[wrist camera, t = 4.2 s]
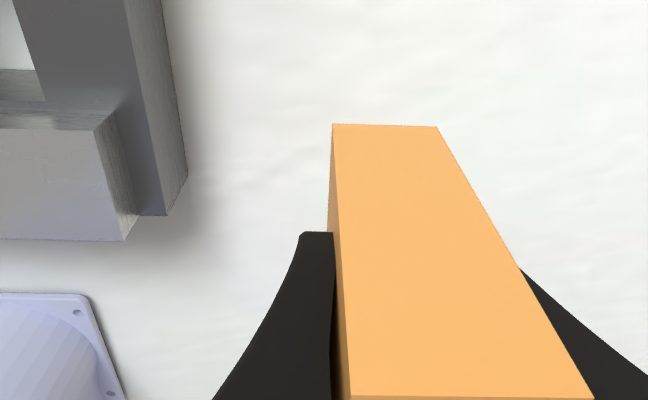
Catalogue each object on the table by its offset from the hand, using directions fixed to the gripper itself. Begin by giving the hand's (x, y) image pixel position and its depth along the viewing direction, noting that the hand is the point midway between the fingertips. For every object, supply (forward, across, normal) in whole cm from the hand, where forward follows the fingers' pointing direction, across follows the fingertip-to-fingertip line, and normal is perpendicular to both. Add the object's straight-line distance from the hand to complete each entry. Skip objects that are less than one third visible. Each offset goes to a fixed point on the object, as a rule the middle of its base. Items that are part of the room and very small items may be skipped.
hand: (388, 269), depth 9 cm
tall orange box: (+3, 0, 0) cm, 3 cm away
